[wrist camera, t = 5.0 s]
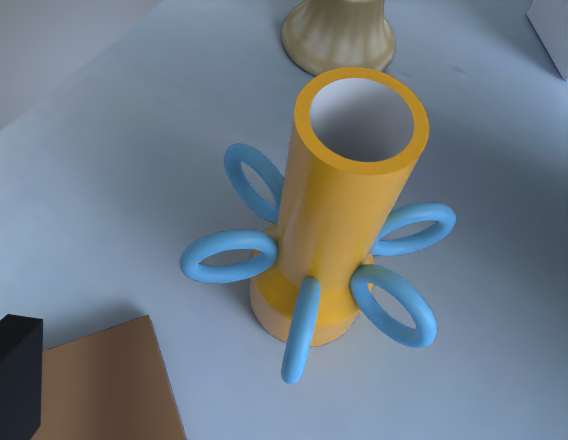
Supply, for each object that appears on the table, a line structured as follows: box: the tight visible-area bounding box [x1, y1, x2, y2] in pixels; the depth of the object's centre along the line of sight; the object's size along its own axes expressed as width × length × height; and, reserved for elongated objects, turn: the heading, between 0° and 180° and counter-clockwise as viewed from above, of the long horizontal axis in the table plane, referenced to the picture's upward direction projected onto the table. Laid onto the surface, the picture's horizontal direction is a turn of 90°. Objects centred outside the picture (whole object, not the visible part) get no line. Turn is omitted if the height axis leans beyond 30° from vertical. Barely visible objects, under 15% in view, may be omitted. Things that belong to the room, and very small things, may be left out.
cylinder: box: [180, 67, 456, 384], centre depth 22 cm, size 12×10×15 cm
